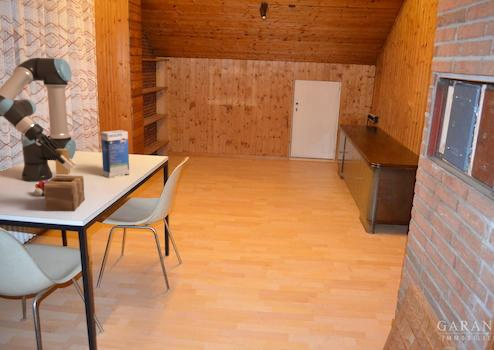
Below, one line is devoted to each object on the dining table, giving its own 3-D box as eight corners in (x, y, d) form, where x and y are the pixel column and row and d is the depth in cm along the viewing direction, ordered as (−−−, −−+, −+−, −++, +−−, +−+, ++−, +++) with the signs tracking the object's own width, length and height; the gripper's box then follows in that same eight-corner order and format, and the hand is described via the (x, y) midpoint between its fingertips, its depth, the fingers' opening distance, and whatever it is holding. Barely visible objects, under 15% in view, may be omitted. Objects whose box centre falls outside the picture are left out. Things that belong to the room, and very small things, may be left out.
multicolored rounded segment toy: (39, 191, 211) (37, 177, 209) (59, 192, 212) (58, 178, 210) (32, 197, 203) (30, 182, 201) (52, 197, 204) (51, 182, 202)
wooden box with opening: (58, 199, 200) (56, 175, 197) (84, 200, 201) (83, 175, 198) (45, 211, 185) (43, 184, 182) (74, 211, 186) (72, 185, 183)
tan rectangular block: (59, 172, 190) (57, 148, 188) (70, 172, 191) (69, 148, 188) (56, 174, 187) (54, 150, 184) (68, 174, 188) (66, 150, 185)
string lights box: (123, 172, 254) (121, 129, 248) (130, 174, 249) (128, 131, 243) (102, 175, 245) (100, 131, 238) (109, 178, 240) (107, 133, 233)
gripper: (32, 131, 191) (72, 168, 197) (15, 137, 175) (59, 177, 181) (43, 120, 191) (83, 157, 196) (28, 125, 175) (72, 165, 180)
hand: (72, 166), depth 189 cm, fingers closed on tan rectangular block, 3 cm apart
